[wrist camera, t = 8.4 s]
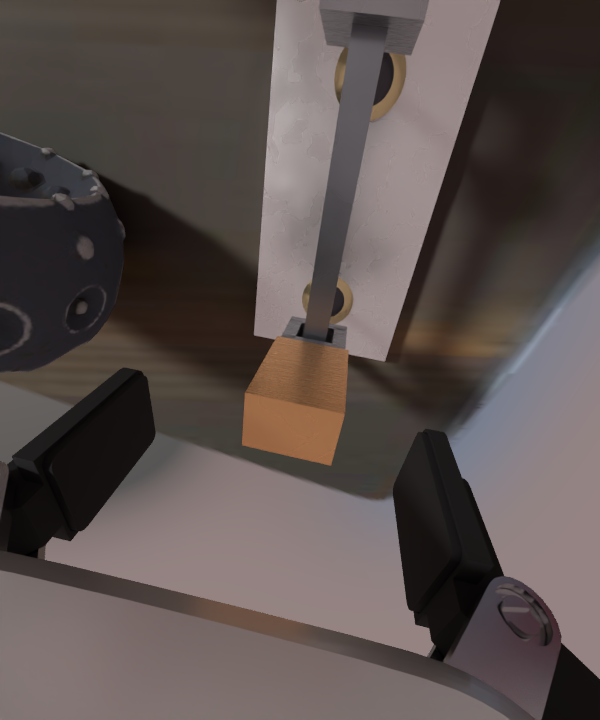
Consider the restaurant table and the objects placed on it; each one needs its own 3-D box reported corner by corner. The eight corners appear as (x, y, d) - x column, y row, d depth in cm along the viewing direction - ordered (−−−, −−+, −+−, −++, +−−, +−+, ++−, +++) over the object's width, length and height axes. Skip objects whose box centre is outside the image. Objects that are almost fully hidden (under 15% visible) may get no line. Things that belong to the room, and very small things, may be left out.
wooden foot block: (306, 284, 24) (245, 392, 11) (352, 292, 24) (344, 414, 11) (301, 315, 25) (241, 445, 12) (345, 323, 25) (331, 465, 12)
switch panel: (285, -29, 18) (176, -362, 7) (496, -7, 17) (735, -351, 6) (258, 328, 29) (200, 407, 19) (383, 353, 28) (399, 451, 18)
